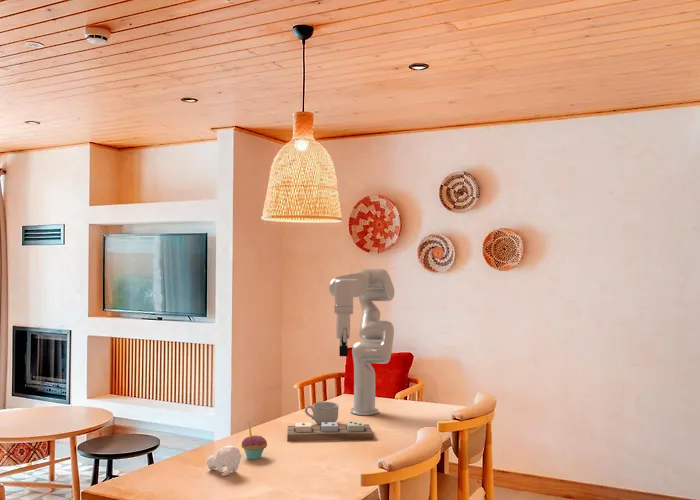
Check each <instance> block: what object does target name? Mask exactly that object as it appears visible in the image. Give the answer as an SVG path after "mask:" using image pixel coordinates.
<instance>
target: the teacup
mask: <svg viewBox="0 0 700 500" xmlns="http://www.w3.org/2000/svg"><path fill="white" fill-rule="evenodd" d="M308 409H310V410H311V412H312V414H310V413H309V412H308ZM304 413H305V414H306V416H308V417H309V418H311V420H313V421H315V423H316V424H317V425H321V422H337V421H338V418H339V404H338V403H336V402H332V401H319V402H318V401H317V402H315V403H313V404H312V405H311V404H310V405H309V404H308V405H306V406H305V407H304Z"/></svg>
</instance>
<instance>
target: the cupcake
mask: <svg viewBox="0 0 700 500" xmlns="http://www.w3.org/2000/svg"><path fill="white" fill-rule="evenodd" d="M251 426H252V425H251V424H250V421H248V432H249V433H248V434H249V436H246V437H245V438H243V440H242V441H241V448H242V449H243V450H244V453H245V456H246V458H247V459H248V460H259V459H261V458H262V455H263V452H264V449H266V448H267V446H268V441H267V440H266V438H264V437H263V436H261V435H252V427H251Z"/></svg>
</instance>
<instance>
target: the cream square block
mask: <svg viewBox="0 0 700 500" xmlns="http://www.w3.org/2000/svg"><path fill="white" fill-rule="evenodd" d="M311 425H312V422H295V424H294V426H295V432H311Z"/></svg>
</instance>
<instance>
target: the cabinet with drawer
mask: <svg viewBox="0 0 700 500" xmlns="http://www.w3.org/2000/svg"><path fill="white" fill-rule="evenodd" d="M363 424H364V423H363ZM337 425H338V431H336V432H321V425H319V424H317V425H316V424H315V425H314V424H313V425H312V424H311V432H295V425H287V431H286V432H287V433H286V434H287V435H286V439H287V442H309V441H310V442H313V441H314V442H316V441H320V442H322V441H323V442H324V441H326V442H327V441H368V440H370V441H373V440H374V432H373V430H372V427H371V426H370V424H369V423H368V424H364V431H347V424H337Z"/></svg>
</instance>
